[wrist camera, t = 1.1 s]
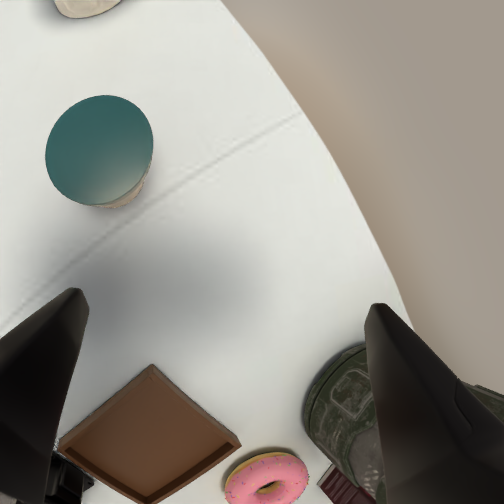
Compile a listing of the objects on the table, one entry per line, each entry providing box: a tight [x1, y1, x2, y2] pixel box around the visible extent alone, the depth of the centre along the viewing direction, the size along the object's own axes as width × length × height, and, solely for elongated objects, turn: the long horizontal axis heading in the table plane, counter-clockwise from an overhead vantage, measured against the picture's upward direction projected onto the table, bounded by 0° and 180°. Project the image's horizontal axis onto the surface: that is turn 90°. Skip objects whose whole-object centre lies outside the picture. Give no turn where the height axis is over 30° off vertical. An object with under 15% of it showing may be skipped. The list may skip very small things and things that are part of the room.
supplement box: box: [317, 464, 377, 504], centre depth 30 cm, size 9×5×16 cm, turn 61°
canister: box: [304, 344, 504, 504], centre depth 23 cm, size 16×16×28 cm
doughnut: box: [225, 452, 310, 504], centre depth 30 cm, size 11×11×4 cm
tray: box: [57, 364, 242, 504], centre depth 26 cm, size 15×13×2 cm
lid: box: [45, 95, 153, 207], centre depth 16 cm, size 7×7×2 cm
